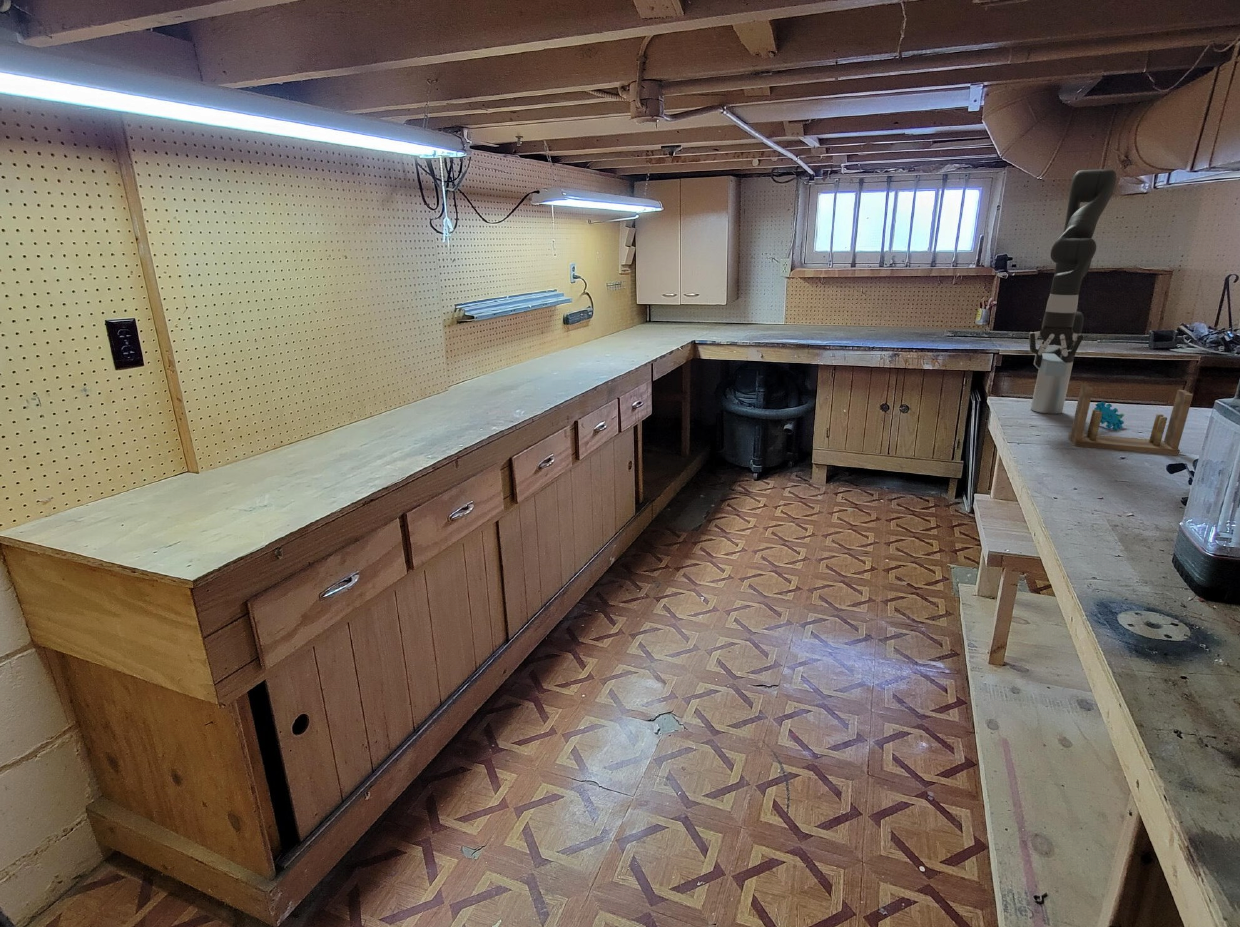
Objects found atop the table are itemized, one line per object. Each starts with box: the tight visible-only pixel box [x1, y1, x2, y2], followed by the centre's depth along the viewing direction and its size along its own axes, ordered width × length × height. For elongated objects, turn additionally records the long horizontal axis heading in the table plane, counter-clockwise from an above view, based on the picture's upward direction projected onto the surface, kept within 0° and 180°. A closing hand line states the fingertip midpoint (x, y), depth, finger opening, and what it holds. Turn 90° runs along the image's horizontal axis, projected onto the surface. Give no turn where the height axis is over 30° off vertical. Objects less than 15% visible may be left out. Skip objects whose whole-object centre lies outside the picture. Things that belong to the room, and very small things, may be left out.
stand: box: [1068, 383, 1194, 456], centre depth 186 cm, size 9×24×16 cm, turn 68°
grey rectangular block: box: [1033, 353, 1067, 377], centre depth 200 cm, size 18×5×4 cm, turn 158°
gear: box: [1093, 401, 1125, 431], centre depth 208 cm, size 11×6×10 cm
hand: (1048, 367), depth 200 cm, fingers closed on grey rectangular block, 5 cm apart
